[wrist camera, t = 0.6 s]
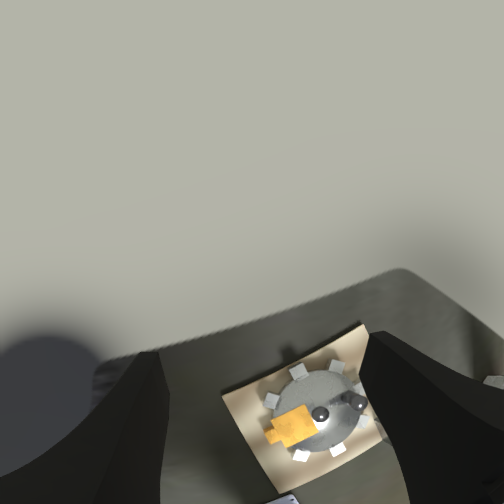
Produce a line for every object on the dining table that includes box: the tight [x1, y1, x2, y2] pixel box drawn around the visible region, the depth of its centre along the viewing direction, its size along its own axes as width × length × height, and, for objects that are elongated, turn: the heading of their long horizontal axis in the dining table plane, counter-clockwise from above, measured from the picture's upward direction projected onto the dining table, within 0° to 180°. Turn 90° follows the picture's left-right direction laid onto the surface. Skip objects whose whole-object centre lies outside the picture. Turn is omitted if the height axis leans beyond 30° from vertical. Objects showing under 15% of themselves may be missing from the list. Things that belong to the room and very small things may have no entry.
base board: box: [222, 324, 382, 494], centre depth 31 cm, size 17×20×1 cm
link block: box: [374, 417, 392, 446], centre depth 28 cm, size 4×4×5 cm
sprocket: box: [262, 358, 370, 462], centre depth 28 cm, size 14×14×6 cm
